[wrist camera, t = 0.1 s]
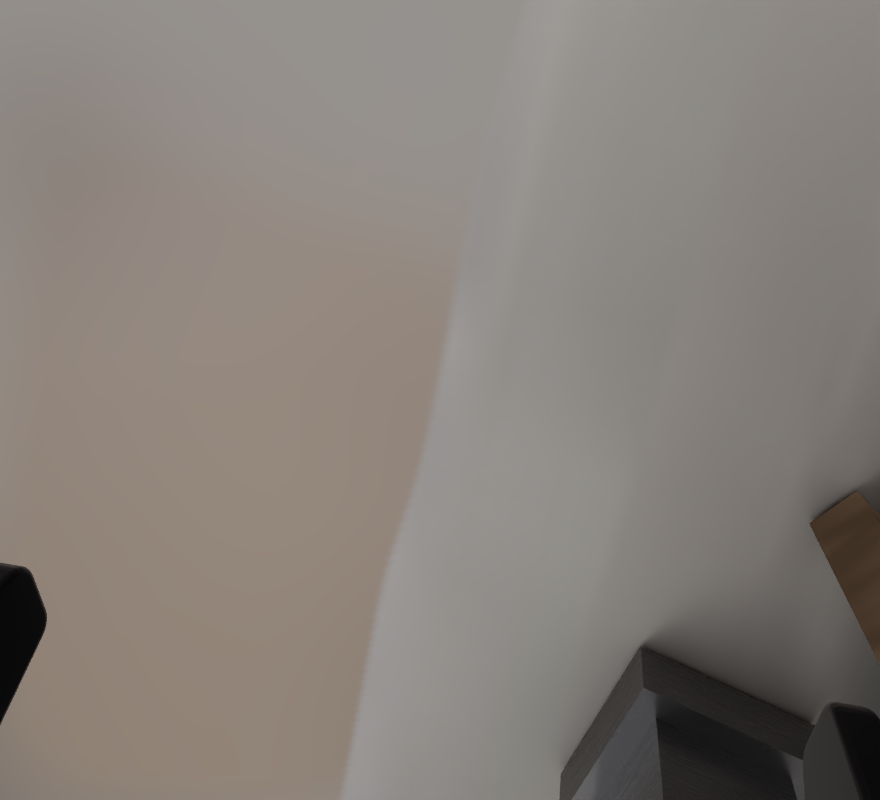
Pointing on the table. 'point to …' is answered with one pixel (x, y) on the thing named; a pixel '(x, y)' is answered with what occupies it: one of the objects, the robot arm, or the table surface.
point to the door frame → (855, 558)
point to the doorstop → (686, 741)
